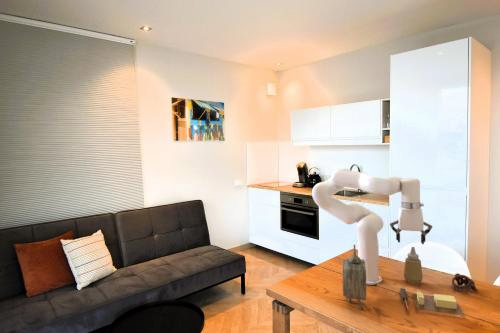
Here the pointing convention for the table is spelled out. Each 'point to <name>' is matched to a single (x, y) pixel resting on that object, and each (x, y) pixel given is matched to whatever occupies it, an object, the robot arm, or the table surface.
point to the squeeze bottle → (413, 268)
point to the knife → (404, 296)
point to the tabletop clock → (354, 278)
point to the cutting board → (431, 306)
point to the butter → (445, 301)
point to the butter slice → (420, 298)
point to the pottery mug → (460, 281)
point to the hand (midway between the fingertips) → (410, 242)
